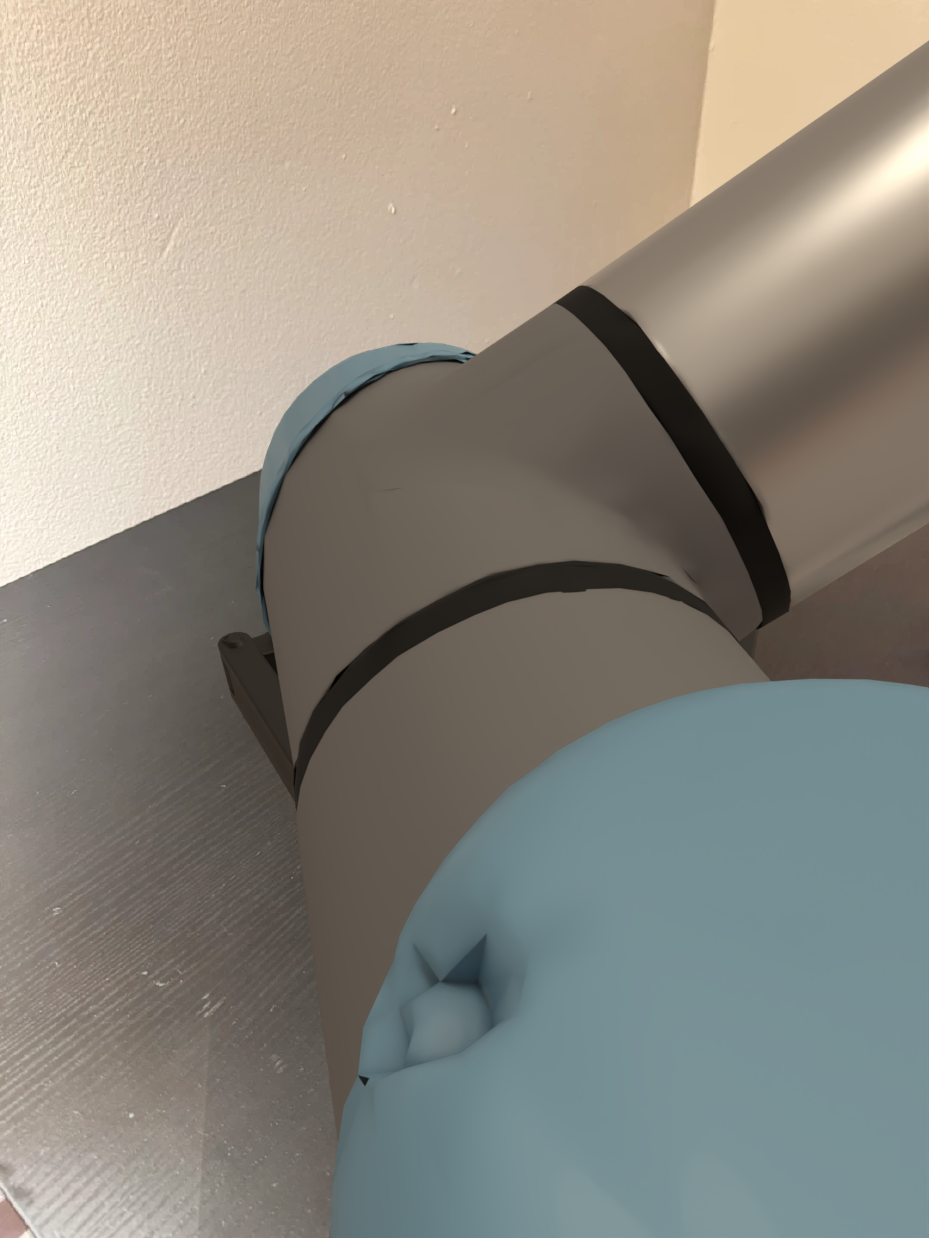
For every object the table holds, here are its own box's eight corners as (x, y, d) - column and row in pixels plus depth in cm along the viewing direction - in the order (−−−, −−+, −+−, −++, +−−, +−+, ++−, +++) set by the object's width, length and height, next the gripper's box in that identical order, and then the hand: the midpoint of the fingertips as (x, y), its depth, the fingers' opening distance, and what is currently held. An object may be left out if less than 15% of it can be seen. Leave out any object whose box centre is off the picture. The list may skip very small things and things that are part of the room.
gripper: (99, 1102, 23) (211, 625, 40) (985, 1002, 24) (730, 583, 41) (-3, 946, 18) (173, 482, 35) (1097, 835, 20) (758, 441, 36)
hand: (473, 536), depth 38 cm, fingers open, 13 cm apart
